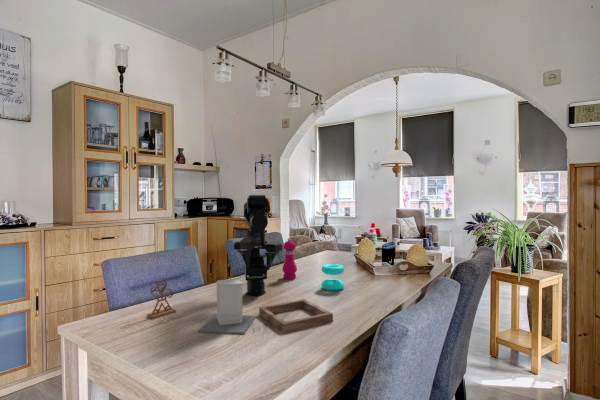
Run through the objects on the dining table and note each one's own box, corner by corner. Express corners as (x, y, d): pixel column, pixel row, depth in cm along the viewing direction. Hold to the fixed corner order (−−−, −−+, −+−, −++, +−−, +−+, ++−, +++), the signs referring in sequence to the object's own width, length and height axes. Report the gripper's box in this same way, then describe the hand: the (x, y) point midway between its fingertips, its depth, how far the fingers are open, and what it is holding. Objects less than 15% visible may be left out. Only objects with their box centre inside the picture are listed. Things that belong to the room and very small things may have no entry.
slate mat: (215, 316, 116) (215, 314, 116) (255, 317, 115) (255, 315, 115) (198, 332, 102) (198, 330, 102) (244, 334, 101) (244, 332, 101)
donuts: (346, 264, 153) (340, 268, 144) (346, 286, 153) (340, 292, 144) (325, 262, 157) (318, 266, 148) (325, 284, 157) (318, 290, 148)
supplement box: (243, 323, 108) (242, 283, 108) (219, 326, 105) (218, 285, 105) (238, 315, 115) (238, 277, 115) (216, 318, 112) (216, 279, 112)
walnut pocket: (259, 314, 117) (259, 307, 117) (304, 306, 126) (304, 299, 126) (283, 332, 102) (283, 324, 102) (332, 321, 111) (332, 313, 111)
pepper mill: (298, 277, 172) (298, 237, 171) (294, 280, 165) (293, 238, 165) (285, 275, 174) (285, 236, 174) (280, 279, 167) (279, 238, 167)
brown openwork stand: (170, 309, 123) (170, 276, 123) (176, 312, 121) (176, 278, 120) (146, 317, 116) (146, 281, 116) (153, 319, 113) (152, 283, 113)
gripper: (224, 228, 127) (224, 270, 127) (266, 230, 118) (267, 275, 119) (242, 226, 137) (242, 265, 137) (282, 228, 128) (283, 269, 128)
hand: (257, 269), depth 130 cm, fingers open, 9 cm apart
